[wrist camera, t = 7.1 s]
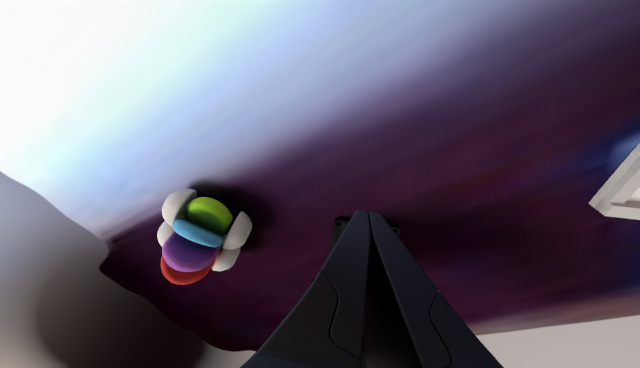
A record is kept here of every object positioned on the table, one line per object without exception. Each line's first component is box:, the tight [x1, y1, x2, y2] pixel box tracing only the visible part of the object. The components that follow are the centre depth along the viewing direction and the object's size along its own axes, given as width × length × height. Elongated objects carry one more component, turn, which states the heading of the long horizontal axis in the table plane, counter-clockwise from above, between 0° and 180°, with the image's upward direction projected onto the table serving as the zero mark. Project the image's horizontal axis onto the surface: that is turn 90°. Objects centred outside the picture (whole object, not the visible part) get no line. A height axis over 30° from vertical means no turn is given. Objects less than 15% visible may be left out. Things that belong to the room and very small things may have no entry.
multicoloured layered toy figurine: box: [157, 189, 252, 285], centre depth 24 cm, size 8×10×7 cm
